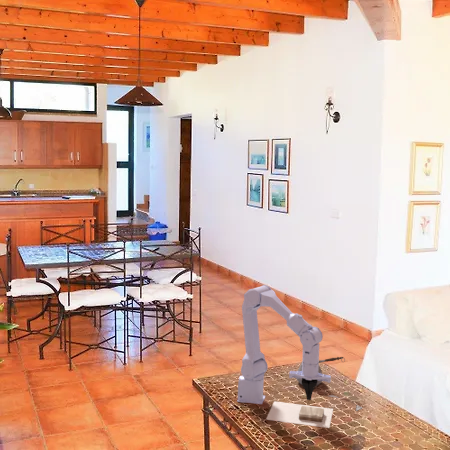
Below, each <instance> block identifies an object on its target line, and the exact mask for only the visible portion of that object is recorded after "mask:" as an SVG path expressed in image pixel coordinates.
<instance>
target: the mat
mask: <svg viewBox="0 0 450 450" xmlns="http://www.w3.org/2000/svg"><path fill="white" fill-rule="evenodd" d="M302 406H306V407H314V408H322V409H324V415H323V419H322V422H315V421H307V420H300V419H299V413H300V410H301V407H302ZM333 412H334V408H329V407H323V406H322V407H320V406H313V405H305V404H298V403H290V402H283V401H275V400H274V401H273V403H272V405H271V408H270V409H269V412H268V414H267V417H266V418H265V420H268V421H276V422H282V423H288V424H295V425H304V426H311V427H317V428H318V427H319V428H325V429H326V428H327V429H330V427H331V422H332V416H333Z"/></svg>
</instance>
